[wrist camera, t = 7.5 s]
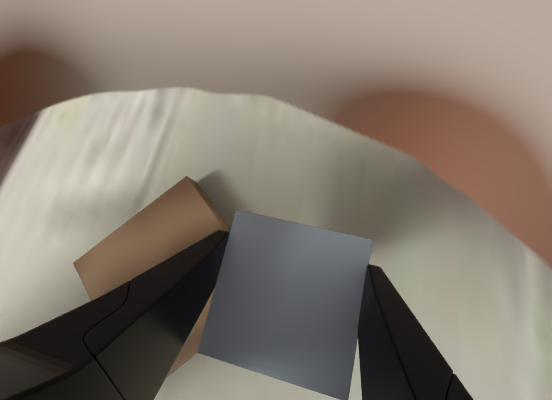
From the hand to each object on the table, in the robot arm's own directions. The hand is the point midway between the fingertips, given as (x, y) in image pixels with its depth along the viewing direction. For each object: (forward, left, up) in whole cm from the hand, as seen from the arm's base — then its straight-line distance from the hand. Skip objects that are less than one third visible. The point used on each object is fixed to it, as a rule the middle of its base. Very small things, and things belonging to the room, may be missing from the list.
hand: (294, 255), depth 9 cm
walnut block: (+6, +10, -13) cm, 18 cm away
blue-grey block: (-1, +1, -7) cm, 7 cm away
